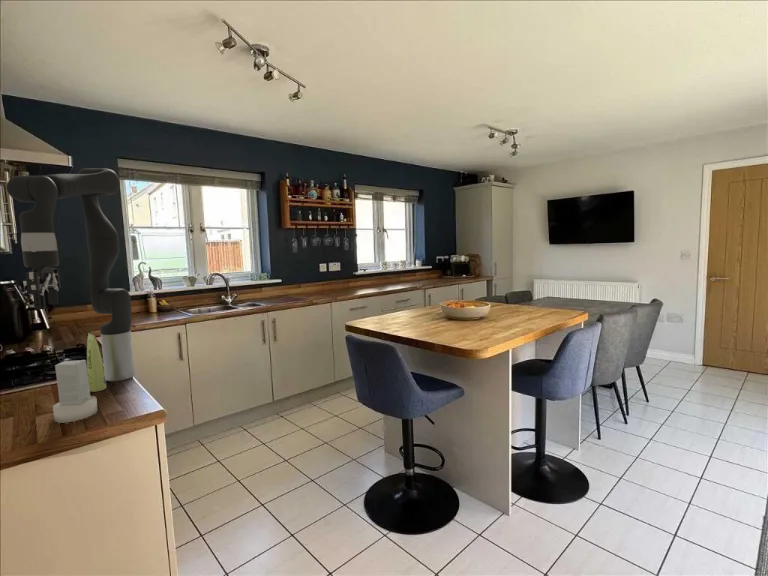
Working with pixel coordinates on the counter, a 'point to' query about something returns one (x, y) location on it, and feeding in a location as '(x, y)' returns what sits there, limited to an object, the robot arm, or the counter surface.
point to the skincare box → (72, 382)
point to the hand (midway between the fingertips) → (47, 306)
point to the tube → (95, 366)
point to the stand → (75, 411)
